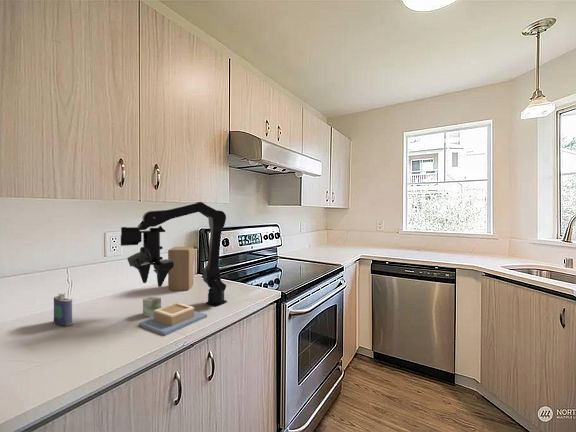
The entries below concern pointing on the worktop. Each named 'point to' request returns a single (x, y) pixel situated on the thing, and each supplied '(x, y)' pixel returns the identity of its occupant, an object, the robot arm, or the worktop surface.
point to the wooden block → (181, 268)
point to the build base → (170, 328)
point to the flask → (62, 311)
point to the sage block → (151, 305)
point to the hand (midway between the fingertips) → (152, 284)
